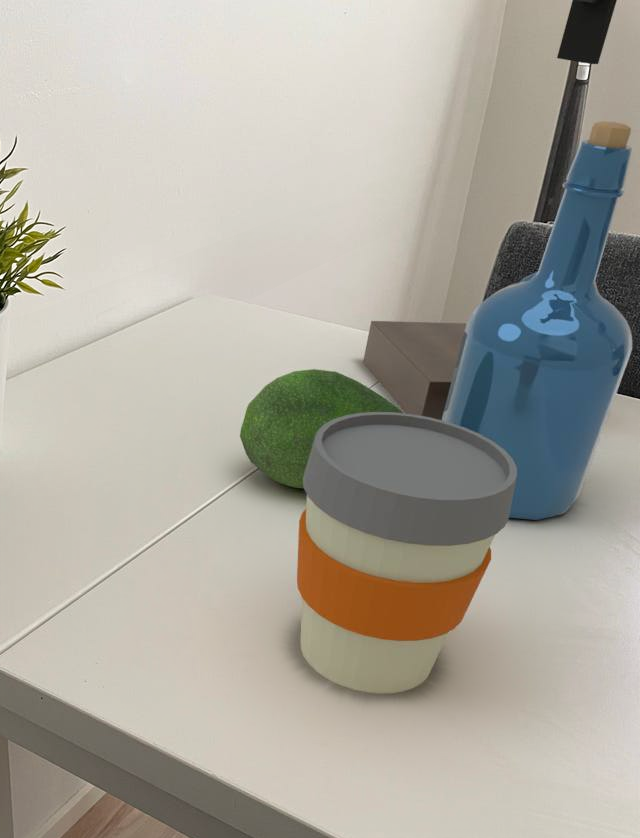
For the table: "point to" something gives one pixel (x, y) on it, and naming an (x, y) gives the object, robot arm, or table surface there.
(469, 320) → the wine bottle
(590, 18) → the robot arm
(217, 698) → the table surface
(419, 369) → the walnut block
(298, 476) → the fruit
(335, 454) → the reusable coffee cup
